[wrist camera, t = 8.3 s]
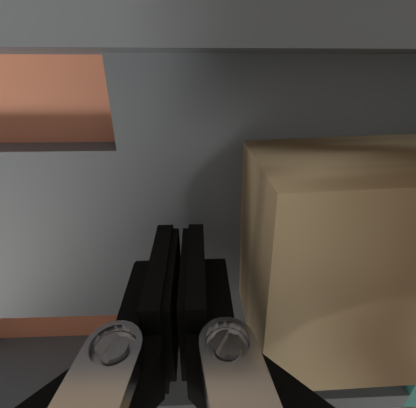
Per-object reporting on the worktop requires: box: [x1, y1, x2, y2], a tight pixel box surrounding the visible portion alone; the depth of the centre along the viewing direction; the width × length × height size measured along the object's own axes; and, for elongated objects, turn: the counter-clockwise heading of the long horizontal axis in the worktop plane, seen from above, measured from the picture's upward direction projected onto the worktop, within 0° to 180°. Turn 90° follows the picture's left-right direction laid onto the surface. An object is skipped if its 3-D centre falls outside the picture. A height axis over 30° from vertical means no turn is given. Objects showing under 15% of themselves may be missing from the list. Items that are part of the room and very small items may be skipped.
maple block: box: [239, 134, 416, 391], centre depth 9 cm, size 7×7×4 cm
